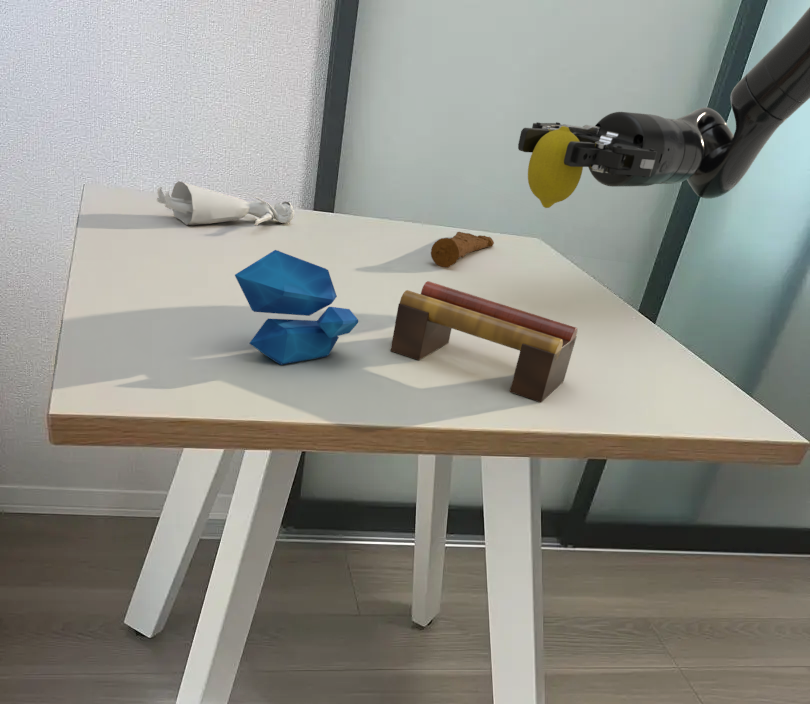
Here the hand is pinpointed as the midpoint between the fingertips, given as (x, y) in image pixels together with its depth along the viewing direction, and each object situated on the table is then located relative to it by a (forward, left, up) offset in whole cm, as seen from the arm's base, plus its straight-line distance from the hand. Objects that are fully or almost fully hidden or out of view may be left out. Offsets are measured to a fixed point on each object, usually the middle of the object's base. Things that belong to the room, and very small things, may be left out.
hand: (545, 146), depth 90 cm
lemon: (-1, -2, -6) cm, 7 cm away
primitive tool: (+14, -20, -18) cm, 30 cm away
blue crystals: (+9, +30, -18) cm, 36 cm away
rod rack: (-4, +18, -17) cm, 25 cm away
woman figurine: (+38, -2, -18) cm, 42 cm away
